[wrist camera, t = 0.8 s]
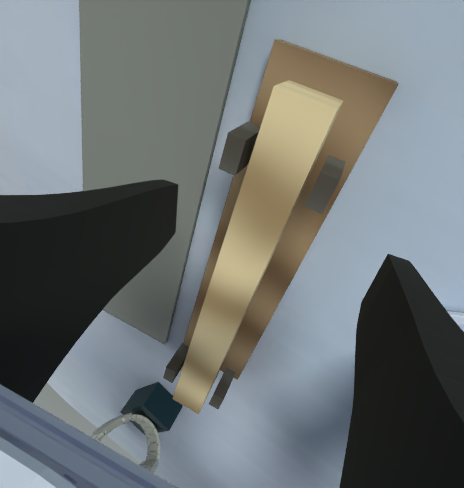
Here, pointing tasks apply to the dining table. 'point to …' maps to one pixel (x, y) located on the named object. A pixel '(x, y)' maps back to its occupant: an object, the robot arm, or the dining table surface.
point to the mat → (155, 120)
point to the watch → (146, 418)
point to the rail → (256, 226)
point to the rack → (312, 196)
